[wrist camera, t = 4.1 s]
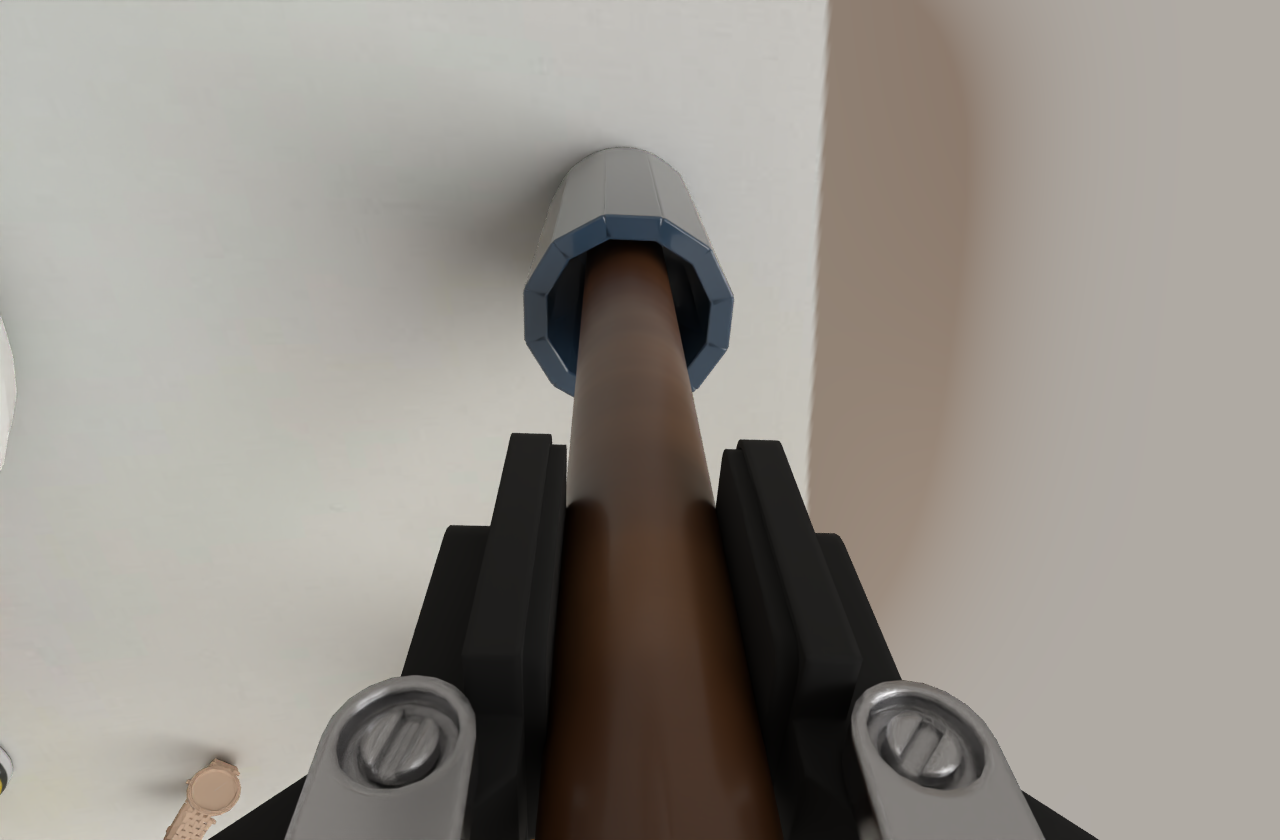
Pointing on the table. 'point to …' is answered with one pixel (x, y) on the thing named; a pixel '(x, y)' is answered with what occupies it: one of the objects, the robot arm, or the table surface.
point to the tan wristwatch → (205, 801)
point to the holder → (624, 210)
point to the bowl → (6, 390)
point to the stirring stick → (645, 595)
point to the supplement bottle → (5, 770)
